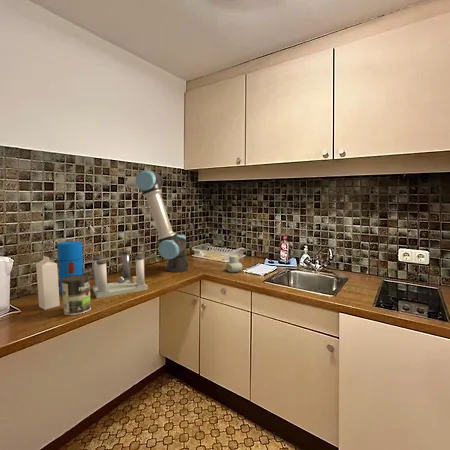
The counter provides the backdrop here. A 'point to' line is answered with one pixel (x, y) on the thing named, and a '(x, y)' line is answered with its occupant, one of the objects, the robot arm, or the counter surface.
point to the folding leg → (125, 266)
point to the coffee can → (76, 294)
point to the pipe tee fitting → (234, 264)
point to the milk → (47, 284)
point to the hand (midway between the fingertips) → (101, 232)
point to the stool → (117, 288)
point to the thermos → (69, 260)
